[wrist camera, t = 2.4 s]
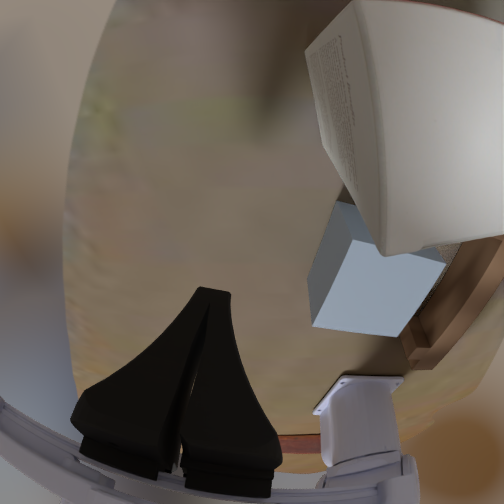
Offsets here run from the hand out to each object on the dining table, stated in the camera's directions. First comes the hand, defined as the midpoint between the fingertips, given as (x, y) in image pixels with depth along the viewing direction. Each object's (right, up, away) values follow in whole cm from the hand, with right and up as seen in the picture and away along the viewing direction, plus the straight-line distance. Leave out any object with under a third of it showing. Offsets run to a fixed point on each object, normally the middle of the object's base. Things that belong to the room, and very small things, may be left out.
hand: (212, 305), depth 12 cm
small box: (+9, +11, 0) cm, 14 cm away
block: (+9, +2, +6) cm, 11 cm away
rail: (+18, +1, +6) cm, 19 cm away
